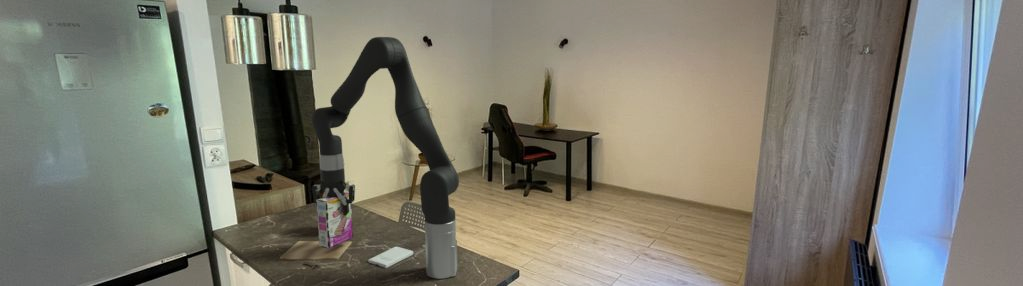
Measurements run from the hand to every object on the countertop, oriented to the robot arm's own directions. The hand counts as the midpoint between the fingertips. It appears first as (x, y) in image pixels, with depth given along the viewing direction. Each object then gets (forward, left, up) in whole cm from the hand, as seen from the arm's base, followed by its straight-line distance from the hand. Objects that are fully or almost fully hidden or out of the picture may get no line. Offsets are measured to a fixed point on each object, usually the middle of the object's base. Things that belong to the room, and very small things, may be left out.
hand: (335, 214), depth 160 cm
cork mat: (+7, 0, -13) cm, 15 cm away
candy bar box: (0, 0, -10) cm, 10 cm away
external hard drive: (-20, +6, -14) cm, 25 cm away
